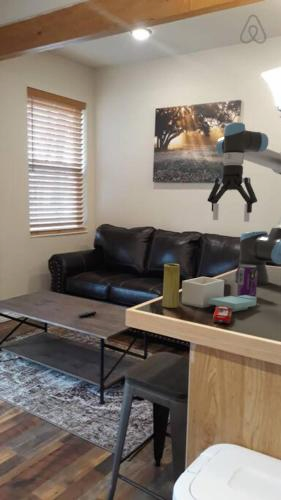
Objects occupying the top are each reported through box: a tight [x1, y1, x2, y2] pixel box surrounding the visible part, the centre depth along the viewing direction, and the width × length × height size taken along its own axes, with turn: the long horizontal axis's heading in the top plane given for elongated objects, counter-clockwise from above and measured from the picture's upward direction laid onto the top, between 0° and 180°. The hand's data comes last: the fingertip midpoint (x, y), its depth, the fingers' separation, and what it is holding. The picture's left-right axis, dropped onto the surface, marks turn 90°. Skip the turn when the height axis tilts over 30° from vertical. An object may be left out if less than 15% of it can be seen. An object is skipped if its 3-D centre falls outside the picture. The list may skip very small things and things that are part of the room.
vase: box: [161, 263, 181, 309], centre depth 139 cm, size 6×6×14 cm
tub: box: [181, 276, 225, 309], centre depth 144 cm, size 13×9×8 cm
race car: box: [212, 306, 233, 324], centre depth 125 cm, size 13×5×4 cm, turn 163°
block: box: [209, 295, 258, 313], centre depth 138 cm, size 20×10×3 cm, turn 137°
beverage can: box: [236, 264, 258, 297], centre depth 156 cm, size 7×7×12 cm
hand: (230, 220), depth 158 cm, fingers open, 13 cm apart
